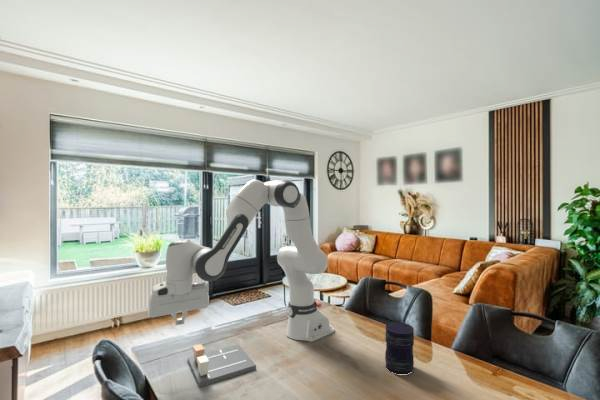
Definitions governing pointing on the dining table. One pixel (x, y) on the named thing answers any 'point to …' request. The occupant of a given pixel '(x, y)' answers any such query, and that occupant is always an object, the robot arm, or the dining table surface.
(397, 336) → the storage jar
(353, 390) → the dining table surface
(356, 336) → the dining table surface
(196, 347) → the terracotta fader
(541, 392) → the dining table surface
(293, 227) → the robot arm
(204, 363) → the cream fader
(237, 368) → the console
